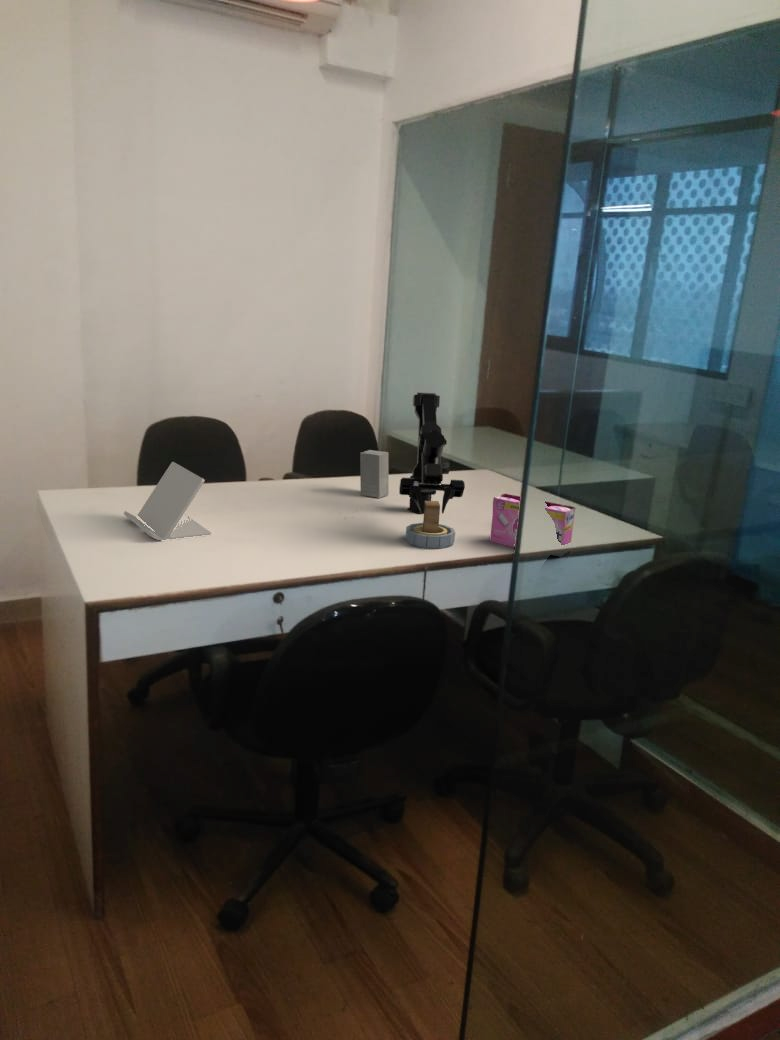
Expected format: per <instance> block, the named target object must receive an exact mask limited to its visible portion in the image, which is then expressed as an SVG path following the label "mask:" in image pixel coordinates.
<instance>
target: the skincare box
mask: <svg viewBox="0 0 780 1040" xmlns="http://www.w3.org/2000/svg"><path fill="white" fill-rule="evenodd" d="M359 454H360V456H359V457H360V460H359V461H360V464H359V465H360V467H359V468H360V471H359V472H360V475H359V476H360V496H365V497H369V498H370V497H371V498H378V499H380V498H383V497H387V496H389V494H390V493H389V487H390V486H389V452H388V451H380V450H372V449H368V450H365V451H361V452H360V453H359Z"/></svg>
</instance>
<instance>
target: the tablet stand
mask: <svg viewBox="0 0 780 1040" xmlns="http://www.w3.org/2000/svg"><path fill="white" fill-rule="evenodd" d="M205 480H206V479H204V478H203V477H201V476H199V475H198V474H196V473H194V472H192V471H190V470H188V469H187V468H185V467H183V466H182V465H180V464H178V463H176V462H174V461H172V462H171V463H170V464H169V466H168V468H167V469H166V470H165V472H164V474H163V475H162V477H160V480H159V481H158V483H157V484H156V486H155V487H154V489H153V490H152V492H151V493H150V495H149V496H148V498H147V500H146V501H145V502H144V504H143V506H142V507H141V509H140V510H139V512H138V513H137V515H138V516H139V517H140V518H141V519H142V520H143V521H144V522H146V524H147V525H148V526H150V527H151V528H152V529H153V530H154V531H155V532H154V531H152V530H151V529H150V528H148V527H147V526H146V525H145V524H143V523H142V522H141V521H140V520H138V519H137V518H136V516H135V515H133V514H131V513H130V512H128V511H126V510H125V511H124V512H123V515H124V516H125V517H127V519H129V520H130V521H132V522H133V524H135V525H136V526H137V527H139V529H141V530H142V531H143V532H144V533H146V535H148V536H149V537H151V538H153V539H155V540H157V541H159V540H166V539H176V538H184V537H193V536H202V535H210V534H211V535H212V532H211V531H210V530H209V529H207V528H205V527H204V526H203V525H202V524H201V523H198V522H197V521H196V520H194V519H193V518H191V521H190V519H189V518H188V519H189V521H188V520H186V523H185V520H184V523H183V525H182V521H181V524H180V526H179V523H178V522H179V520H180V519H181V517H182V516H183V514H185V512H186V511H187V509H188V508H189V506H190V505H191V503H192V502H193V500H194V498H195V497H196V495H197V494H198V492H199V490H200V489H201V488H202V486H203V485H204V483H205ZM187 521H188V522H187ZM177 523H178V525H177ZM144 525H145V526H144ZM176 525H177V527H176ZM181 526H182V527H181ZM175 527H176V529H175V530H174V528H175ZM177 528H178V529H177ZM173 530H174V531H173ZM211 535H210V536H211ZM202 537H203V536H202Z"/></svg>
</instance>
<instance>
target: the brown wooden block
mask: <svg viewBox="0 0 780 1040" xmlns="http://www.w3.org/2000/svg"><path fill="white" fill-rule="evenodd" d="M440 513H441V504H440V502H439V501H438V500H431V501H425V505H424V513H423V521H422V523H423V532H425V533H438V527H439V524H440Z"/></svg>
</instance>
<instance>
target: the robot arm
mask: <svg viewBox="0 0 780 1040" xmlns="http://www.w3.org/2000/svg"><path fill="white" fill-rule="evenodd" d="M440 398H441V396H440V395H438V394H436V393H435V392H434V393H433V392H416V394H414V395H413V397H412V407H414V410H413V411H414V414H415V415H416V418H417V419H418V433H417V434H418V436H417V458H416V459H417V460H416V461H417V462H416V465H415V466H414V467H413V470H412V472H411V475H409V477H402V478H401V479H400V480H399V490H398V491H399V495H400V496H408V497H409V507H407V510H408V511H411V512H413V513H415V514H417V515H418V514H419V515H420V514H424V505H425V501H432V495H433V496H435V495H436V494H437V491H438V492H440V491H441V492H443V496H442V501H441V502H442V505H441V514H444V513H445V510H446V508H447V504H448V502H449V501H450V500H452V499H454V498H461V497H462V498H463V495H464V490H465V487H466V486H465V481H464V480H463V479H450V483H448V484H446V483H442V482H443V479H444V475H449V473H450V462H447V461H446V462H442V460H441V459H442V457H441V456H442V455H443V451H444V447H445V446H446V445H447V444H448V443H447V439H446V438H445V435H444V434H442V432H443V431H442V427H441V426H439V424H438V422H437V411H438V410H437V408H440V400H441V399H440Z"/></svg>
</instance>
